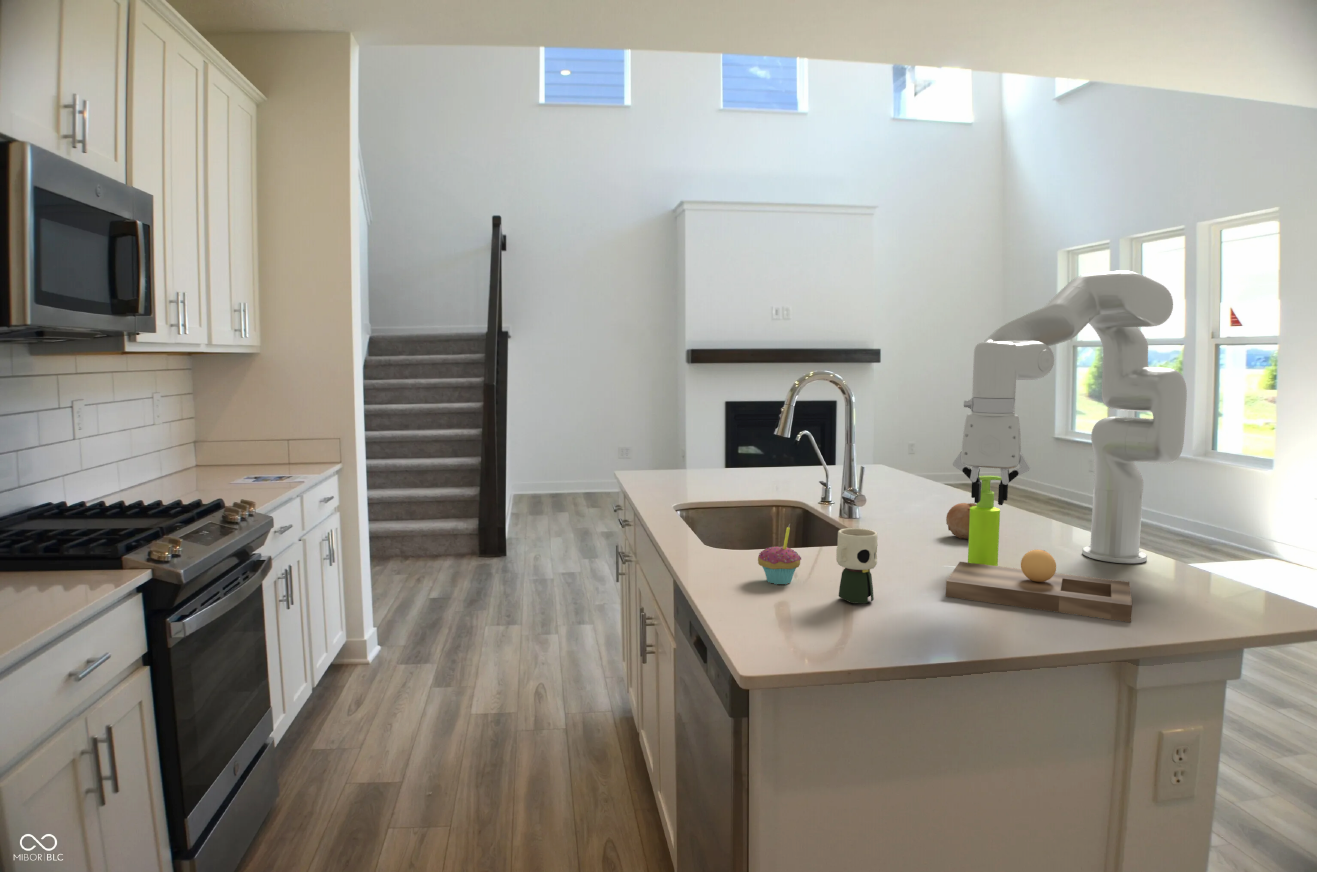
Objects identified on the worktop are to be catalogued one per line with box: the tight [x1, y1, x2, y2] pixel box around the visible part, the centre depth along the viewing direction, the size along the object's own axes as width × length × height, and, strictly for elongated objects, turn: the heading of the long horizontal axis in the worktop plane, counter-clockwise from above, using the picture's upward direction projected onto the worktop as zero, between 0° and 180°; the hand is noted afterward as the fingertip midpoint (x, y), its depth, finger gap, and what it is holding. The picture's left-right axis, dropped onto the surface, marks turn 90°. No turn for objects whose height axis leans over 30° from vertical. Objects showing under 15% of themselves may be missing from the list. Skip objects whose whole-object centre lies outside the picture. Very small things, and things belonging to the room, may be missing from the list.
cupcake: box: [757, 523, 802, 585], centre depth 158 cm, size 9×8×12 cm
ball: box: [1020, 549, 1057, 582], centre depth 148 cm, size 6×6×6 cm
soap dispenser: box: [967, 475, 1002, 566], centre depth 166 cm, size 6×7×20 cm
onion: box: [945, 502, 977, 540], centre depth 196 cm, size 10×9×10 cm
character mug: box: [835, 527, 878, 604], centre depth 145 cm, size 11×7×13 cm, turn 127°
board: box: [945, 561, 1133, 623], centre depth 148 cm, size 16×30×3 cm, turn 61°
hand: (989, 502), depth 151 cm, fingers open, 3 cm apart
